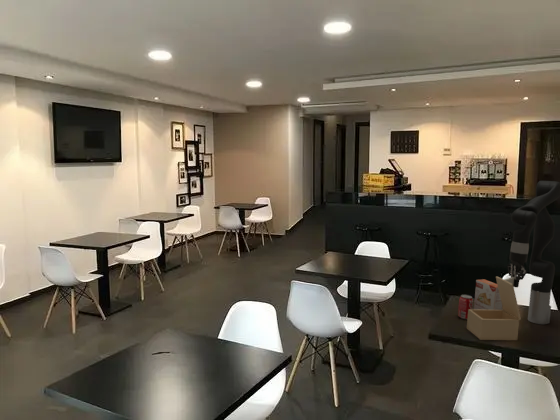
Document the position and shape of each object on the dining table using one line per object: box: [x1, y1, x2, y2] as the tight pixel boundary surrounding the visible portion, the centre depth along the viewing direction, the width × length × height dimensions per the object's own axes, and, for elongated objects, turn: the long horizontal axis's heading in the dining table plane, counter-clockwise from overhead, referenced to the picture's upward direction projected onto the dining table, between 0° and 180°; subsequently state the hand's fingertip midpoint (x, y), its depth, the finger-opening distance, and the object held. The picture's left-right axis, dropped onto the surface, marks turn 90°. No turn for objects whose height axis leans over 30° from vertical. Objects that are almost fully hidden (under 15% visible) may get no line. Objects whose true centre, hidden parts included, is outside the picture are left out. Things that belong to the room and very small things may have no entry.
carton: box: [466, 308, 520, 341], centre depth 216 cm, size 18×14×10 cm
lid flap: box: [495, 276, 522, 321], centre depth 215 cm, size 18×14×6 cm
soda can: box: [457, 294, 474, 320], centre depth 237 cm, size 7×7×12 cm
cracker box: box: [473, 278, 503, 310], centre depth 233 cm, size 14×6×21 cm, turn 17°
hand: (514, 286), depth 214 cm, fingers closed
